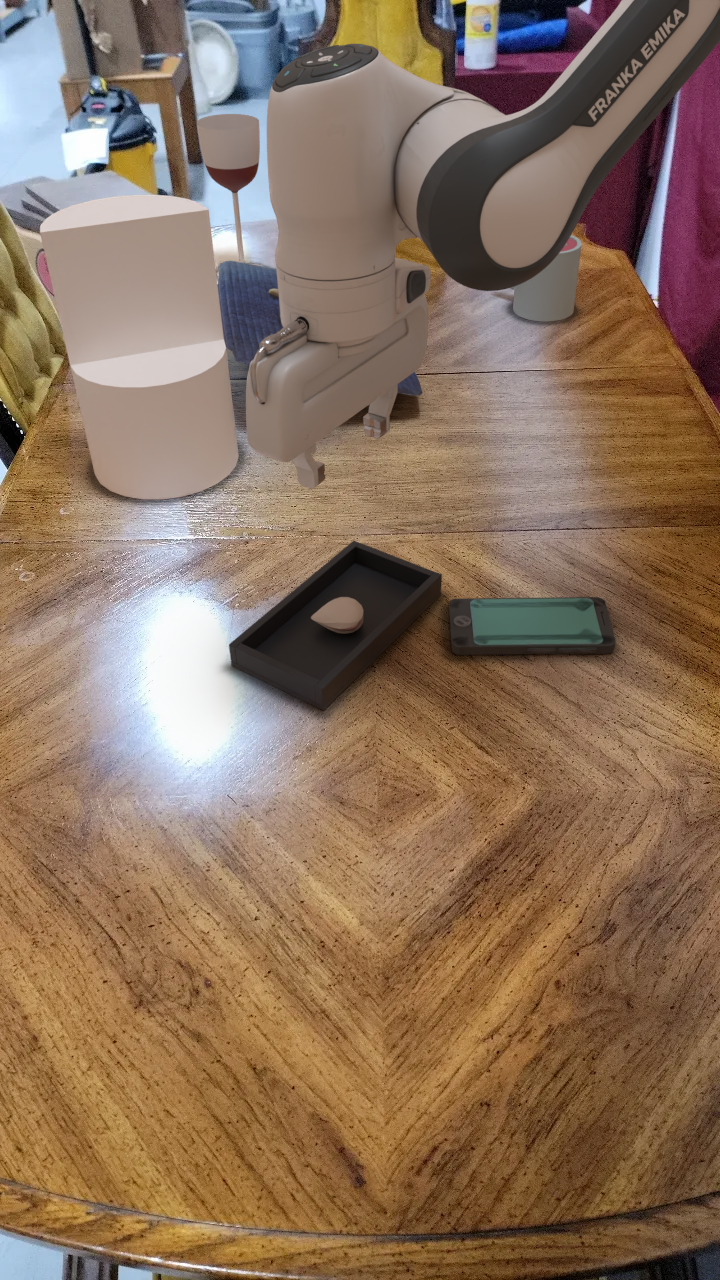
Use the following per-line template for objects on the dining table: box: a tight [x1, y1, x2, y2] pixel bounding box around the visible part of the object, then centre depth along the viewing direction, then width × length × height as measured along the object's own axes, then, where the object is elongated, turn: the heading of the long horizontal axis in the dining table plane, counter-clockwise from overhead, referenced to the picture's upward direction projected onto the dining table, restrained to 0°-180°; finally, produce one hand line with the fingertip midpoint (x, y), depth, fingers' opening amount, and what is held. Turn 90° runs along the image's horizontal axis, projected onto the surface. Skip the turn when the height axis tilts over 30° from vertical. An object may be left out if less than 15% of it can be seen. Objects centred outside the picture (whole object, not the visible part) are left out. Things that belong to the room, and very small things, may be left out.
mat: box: [217, 260, 423, 396], centre depth 141 cm, size 45×27×12 cm, turn 10°
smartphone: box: [448, 596, 617, 656], centre depth 94 cm, size 7×1×15 cm
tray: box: [228, 540, 443, 711], centre depth 94 cm, size 11×20×3 cm, turn 145°
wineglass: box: [196, 113, 262, 278], centre depth 158 cm, size 9×10×23 cm
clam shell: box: [311, 597, 364, 634], centre depth 93 cm, size 4×5×2 cm
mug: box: [509, 234, 583, 323], centre depth 149 cm, size 14×9×10 cm
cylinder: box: [39, 194, 240, 500], centre depth 110 cm, size 17×17×28 cm
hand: (345, 458), depth 84 cm, fingers open, 8 cm apart
